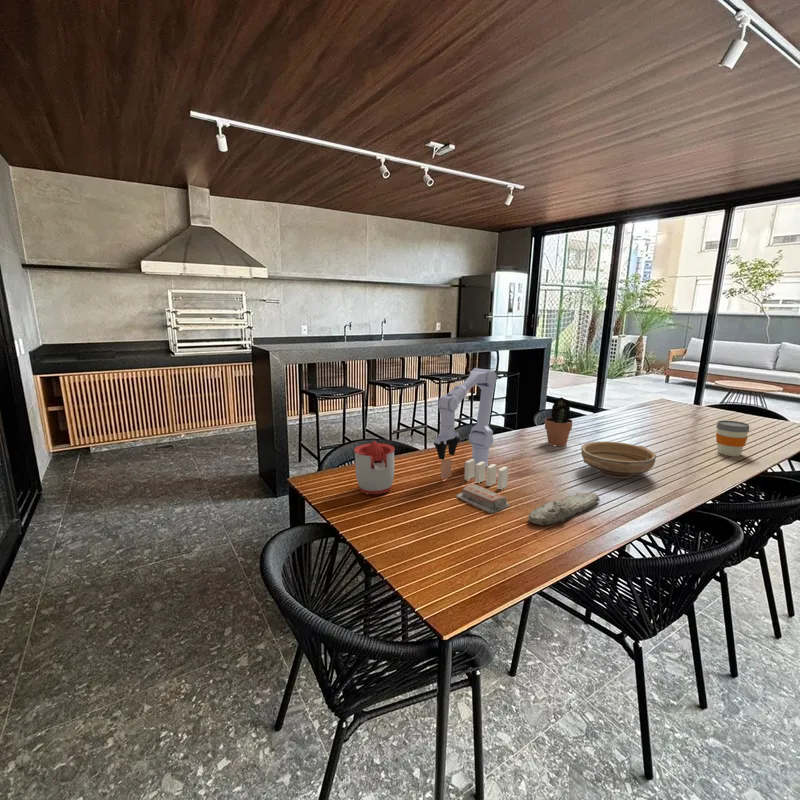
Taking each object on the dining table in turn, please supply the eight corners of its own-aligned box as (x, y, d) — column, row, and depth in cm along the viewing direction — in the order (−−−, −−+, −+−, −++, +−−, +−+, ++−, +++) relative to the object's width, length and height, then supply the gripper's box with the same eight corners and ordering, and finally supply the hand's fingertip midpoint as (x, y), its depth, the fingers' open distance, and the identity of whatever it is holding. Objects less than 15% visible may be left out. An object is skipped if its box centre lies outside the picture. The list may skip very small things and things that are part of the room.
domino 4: (485, 486, 171) (486, 467, 170) (492, 482, 175) (492, 463, 174) (490, 487, 170) (490, 468, 169) (496, 483, 174) (496, 464, 173)
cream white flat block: (464, 480, 178) (464, 461, 176) (470, 476, 182) (471, 458, 180) (468, 481, 177) (468, 462, 175) (474, 477, 180) (475, 459, 179)
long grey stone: (607, 508, 154) (581, 500, 162) (607, 493, 154) (582, 486, 162) (546, 530, 134) (520, 520, 142) (546, 514, 134) (521, 505, 142)
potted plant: (538, 442, 230) (540, 396, 225) (557, 439, 236) (559, 394, 231) (557, 449, 218) (559, 401, 213) (576, 445, 223) (580, 398, 219)
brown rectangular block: (440, 480, 178) (441, 461, 177) (447, 476, 182) (447, 458, 180) (444, 481, 177) (444, 462, 175) (451, 477, 181) (451, 459, 179)
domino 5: (497, 489, 168) (497, 469, 167) (503, 485, 172) (504, 466, 170) (501, 490, 167) (502, 470, 166) (507, 486, 171) (508, 467, 169)
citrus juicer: (360, 502, 157) (358, 450, 154) (352, 485, 174) (350, 437, 170) (401, 497, 161) (400, 446, 158) (389, 480, 178) (389, 434, 174)
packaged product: (511, 494, 152) (491, 502, 146) (510, 507, 153) (491, 515, 147) (474, 479, 166) (455, 485, 161) (473, 491, 167) (455, 498, 162)
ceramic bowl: (618, 493, 163) (621, 468, 161) (558, 470, 187) (559, 448, 186) (674, 475, 181) (677, 452, 179) (612, 457, 205) (614, 436, 203)
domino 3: (475, 483, 175) (475, 464, 173) (481, 479, 178) (481, 461, 177) (478, 484, 173) (479, 465, 172) (485, 480, 177) (485, 462, 176)
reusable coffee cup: (752, 457, 202) (756, 426, 200) (725, 457, 203) (729, 426, 200) (732, 449, 215) (736, 420, 212) (707, 449, 215) (710, 420, 212)
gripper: (448, 420, 183) (448, 451, 185) (429, 426, 172) (428, 459, 174) (463, 423, 179) (462, 454, 181) (443, 429, 168) (443, 462, 170)
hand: (446, 457), depth 177 cm, fingers open, 7 cm apart
